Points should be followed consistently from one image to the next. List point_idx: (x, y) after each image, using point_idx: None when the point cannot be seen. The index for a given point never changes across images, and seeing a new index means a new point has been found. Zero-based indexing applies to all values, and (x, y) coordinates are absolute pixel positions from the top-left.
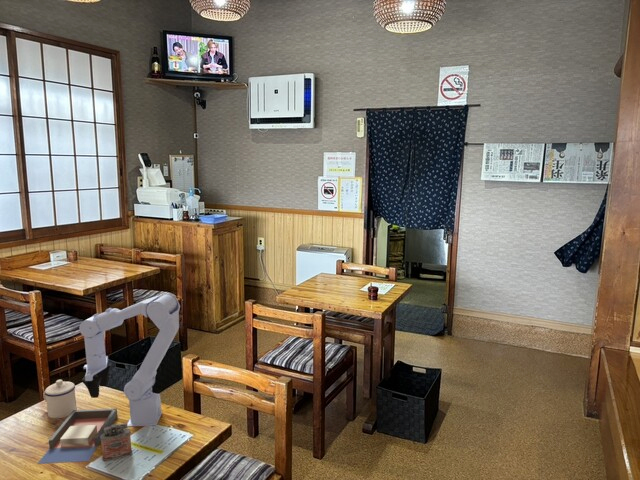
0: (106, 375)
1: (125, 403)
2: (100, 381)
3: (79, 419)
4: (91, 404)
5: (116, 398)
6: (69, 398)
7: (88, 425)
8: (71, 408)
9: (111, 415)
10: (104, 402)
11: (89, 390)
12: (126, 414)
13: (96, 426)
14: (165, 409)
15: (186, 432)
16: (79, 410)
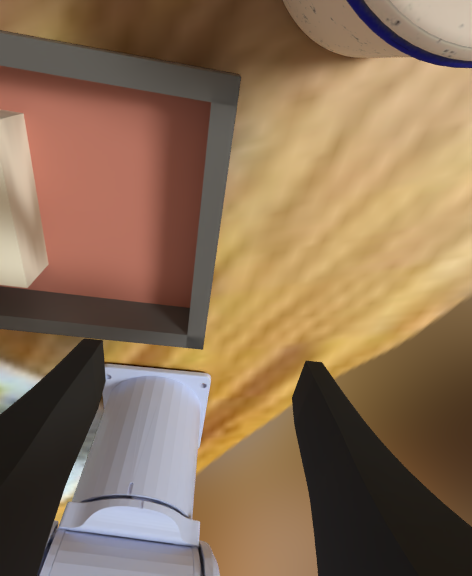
0: (317, 507)
1: (332, 329)
2: (316, 407)
3: (202, 126)
4: (409, 155)
5: (412, 284)
6: (337, 15)
7: (16, 245)
8: (317, 34)
9: (127, 338)
10: (396, 231)
11: (26, 403)
12: (219, 347)
13: (26, 283)
14: (225, 448)
15: (70, 492)
16: (225, 135)
